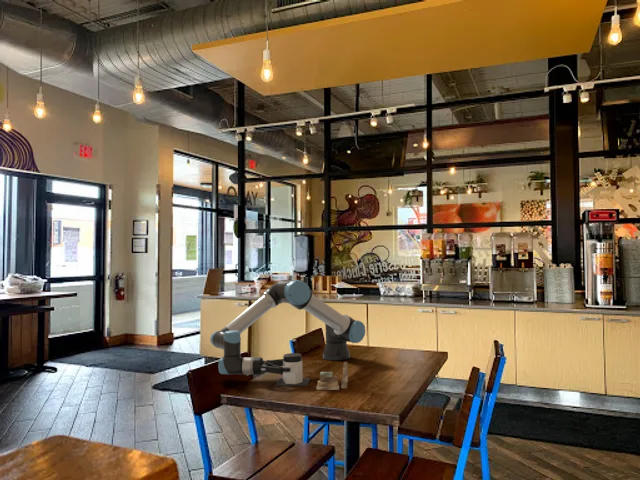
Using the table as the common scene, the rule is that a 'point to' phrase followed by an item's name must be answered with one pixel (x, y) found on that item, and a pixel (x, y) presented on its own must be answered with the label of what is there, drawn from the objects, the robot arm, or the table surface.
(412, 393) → the table surface
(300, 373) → the jar
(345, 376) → the rack
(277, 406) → the table surface
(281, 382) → the mat
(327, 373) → the offcuts
